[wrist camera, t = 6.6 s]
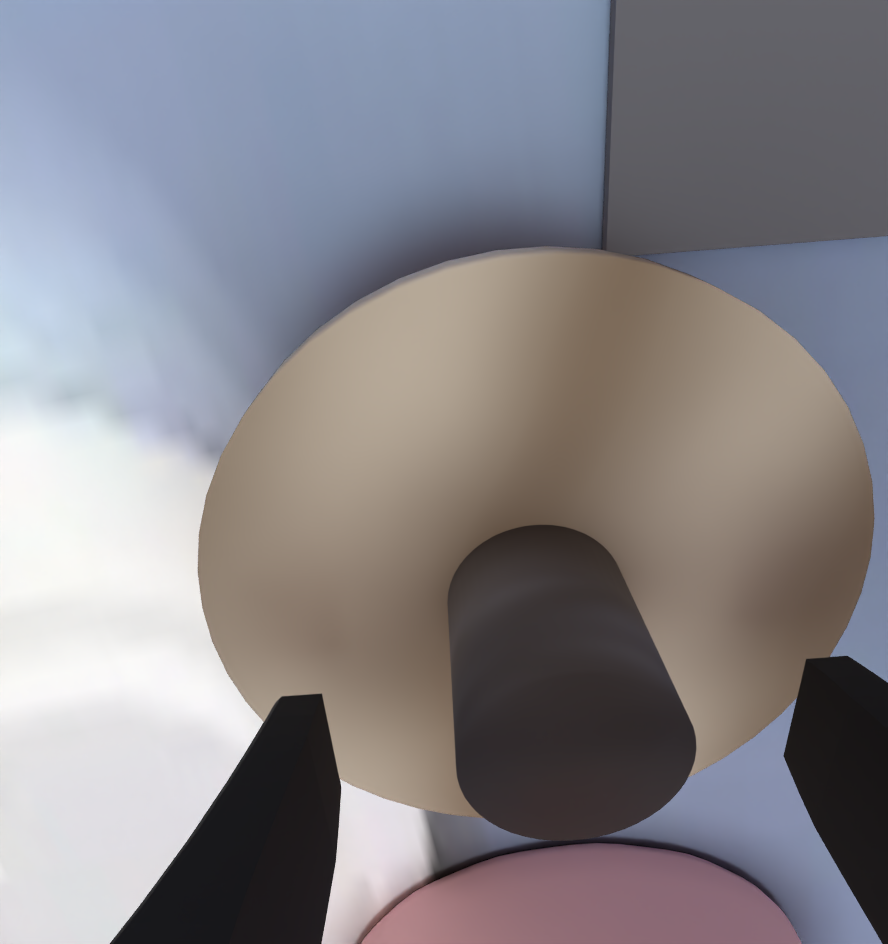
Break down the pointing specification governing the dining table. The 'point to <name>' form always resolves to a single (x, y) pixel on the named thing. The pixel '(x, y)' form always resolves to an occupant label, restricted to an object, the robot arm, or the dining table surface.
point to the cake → (587, 902)
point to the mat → (745, 123)
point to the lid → (538, 535)
